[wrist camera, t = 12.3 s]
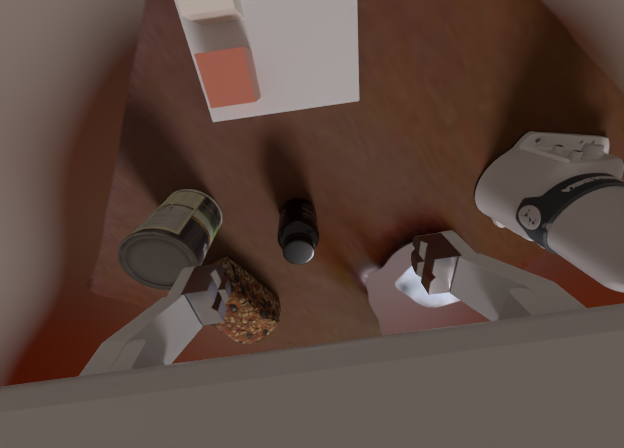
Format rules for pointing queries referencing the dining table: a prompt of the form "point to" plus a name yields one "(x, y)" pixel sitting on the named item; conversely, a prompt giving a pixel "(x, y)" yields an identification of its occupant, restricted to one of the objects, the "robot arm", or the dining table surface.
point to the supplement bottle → (298, 231)
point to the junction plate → (287, 53)
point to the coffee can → (171, 239)
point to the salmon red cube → (229, 76)
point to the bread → (247, 306)
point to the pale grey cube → (211, 10)
